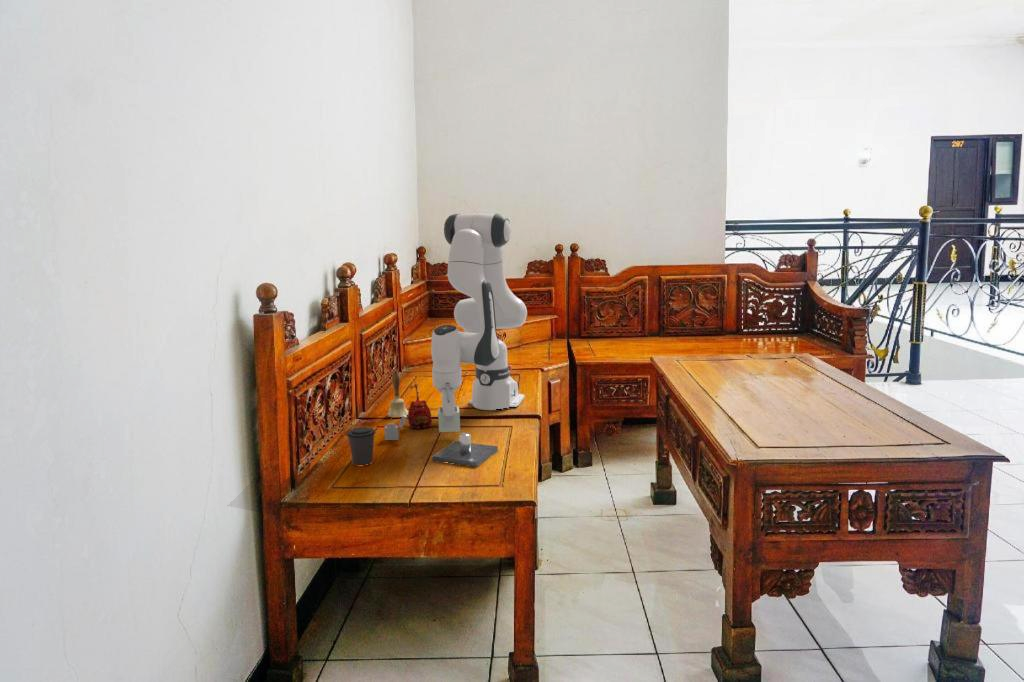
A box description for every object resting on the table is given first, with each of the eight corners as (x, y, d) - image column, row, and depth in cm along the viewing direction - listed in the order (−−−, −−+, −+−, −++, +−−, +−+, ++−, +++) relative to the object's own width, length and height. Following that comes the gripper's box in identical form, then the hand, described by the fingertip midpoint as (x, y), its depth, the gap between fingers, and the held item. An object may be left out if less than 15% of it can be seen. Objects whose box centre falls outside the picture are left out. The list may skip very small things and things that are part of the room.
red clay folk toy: (410, 431, 232) (408, 386, 230) (406, 425, 239) (404, 381, 236) (433, 428, 235) (431, 383, 232) (429, 422, 241) (427, 379, 238)
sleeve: (438, 425, 225) (438, 407, 224) (459, 424, 226) (458, 406, 225) (439, 432, 219) (438, 413, 218) (460, 431, 220) (459, 412, 218)
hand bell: (383, 418, 247) (380, 373, 244) (390, 411, 255) (387, 367, 252) (406, 419, 246) (404, 373, 243) (413, 412, 254) (410, 367, 251)
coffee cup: (352, 458, 209) (350, 424, 207) (380, 457, 208) (378, 424, 207) (345, 468, 201) (342, 433, 199) (374, 467, 200) (371, 433, 199)
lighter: (385, 441, 223) (383, 416, 222) (385, 439, 225) (384, 414, 224) (408, 440, 224) (406, 415, 222) (408, 438, 225) (407, 413, 224)
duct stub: (455, 445, 217) (454, 425, 216) (497, 451, 212) (497, 429, 211) (432, 461, 205) (431, 439, 203) (476, 467, 199) (476, 444, 198)
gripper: (458, 387, 209) (460, 433, 212) (456, 370, 229) (458, 412, 232) (437, 388, 209) (439, 434, 212) (436, 371, 229) (438, 413, 232)
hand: (449, 422), depth 222 cm, fingers closed on sleeve, 6 cm apart
